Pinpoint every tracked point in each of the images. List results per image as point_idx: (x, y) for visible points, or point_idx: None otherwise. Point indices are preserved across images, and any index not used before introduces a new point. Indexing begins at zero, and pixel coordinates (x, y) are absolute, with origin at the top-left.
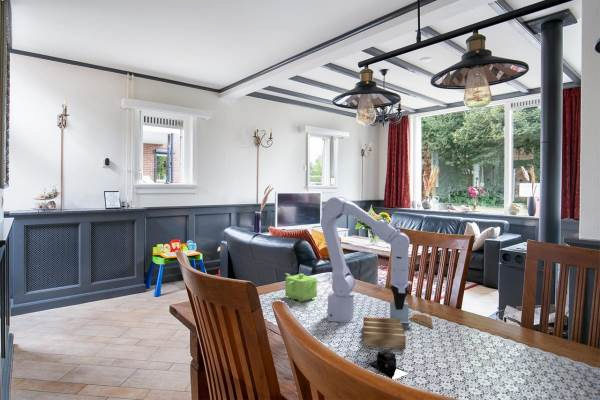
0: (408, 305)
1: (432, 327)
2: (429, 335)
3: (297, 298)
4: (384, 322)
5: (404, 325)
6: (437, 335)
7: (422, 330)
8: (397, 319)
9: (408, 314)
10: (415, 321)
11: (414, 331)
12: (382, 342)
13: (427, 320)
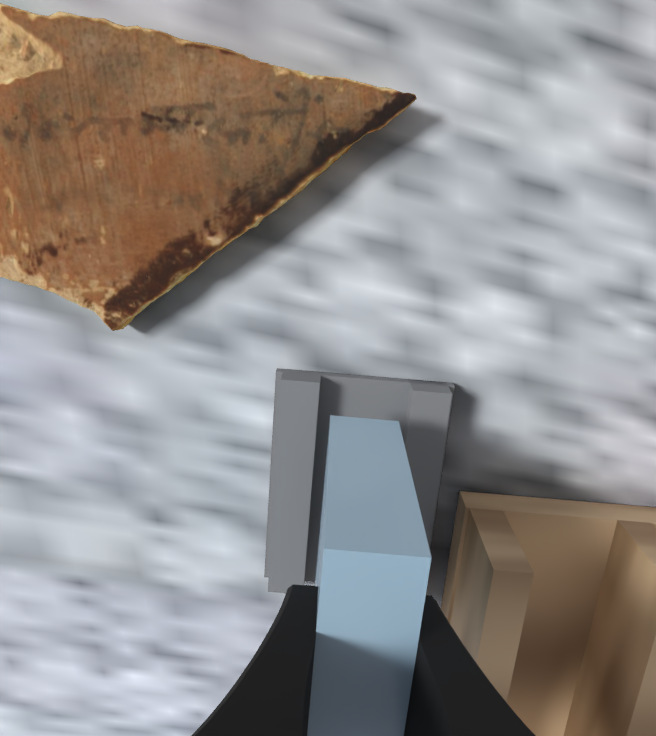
0: (428, 546)
1: (405, 100)
2: (594, 199)
3: None
4: None
5: None
6: (597, 95)
7: (442, 244)
8: (520, 604)
9: (408, 465)
10: (192, 270)
11: (476, 345)
12: None
13: (189, 109)
